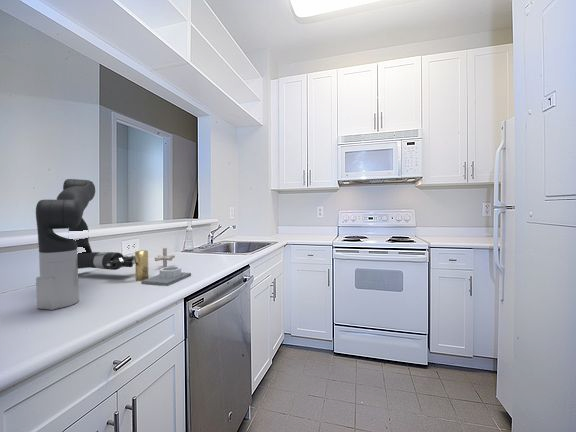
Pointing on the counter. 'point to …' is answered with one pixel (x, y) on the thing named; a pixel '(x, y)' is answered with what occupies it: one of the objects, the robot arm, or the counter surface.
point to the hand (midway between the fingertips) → (140, 262)
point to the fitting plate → (164, 280)
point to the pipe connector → (164, 257)
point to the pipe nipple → (141, 265)
